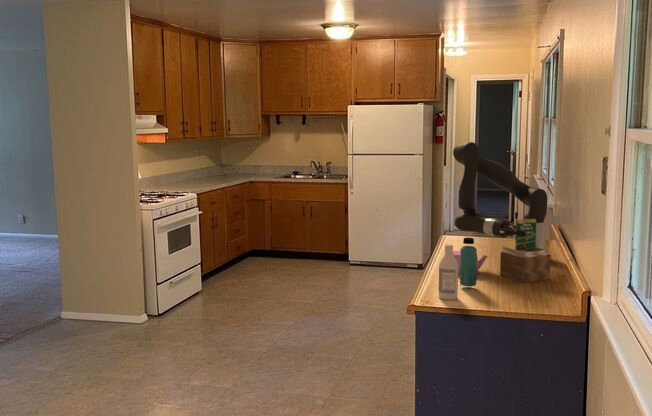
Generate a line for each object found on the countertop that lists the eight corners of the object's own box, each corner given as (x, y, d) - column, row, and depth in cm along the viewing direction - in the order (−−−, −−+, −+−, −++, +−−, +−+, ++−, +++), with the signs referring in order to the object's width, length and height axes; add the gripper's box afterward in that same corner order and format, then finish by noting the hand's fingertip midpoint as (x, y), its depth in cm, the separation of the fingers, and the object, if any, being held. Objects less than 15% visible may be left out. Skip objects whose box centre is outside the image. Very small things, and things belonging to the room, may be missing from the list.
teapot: (486, 270, 278) (486, 247, 277) (487, 276, 268) (488, 252, 267) (444, 269, 281) (444, 246, 280) (444, 274, 271) (444, 251, 270)
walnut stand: (525, 271, 275) (526, 244, 274) (549, 278, 263) (550, 250, 261) (499, 275, 269) (500, 247, 268) (522, 282, 257) (524, 253, 255)
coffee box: (515, 250, 264) (516, 219, 262) (514, 249, 266) (515, 218, 264) (535, 251, 262) (537, 219, 260) (534, 249, 265) (535, 218, 263)
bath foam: (444, 294, 241) (445, 242, 238) (460, 297, 236) (462, 244, 233) (434, 298, 235) (435, 245, 233) (451, 301, 231) (452, 247, 228)
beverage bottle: (476, 290, 245) (478, 239, 243) (459, 289, 247) (460, 239, 244) (476, 286, 252) (477, 236, 249) (459, 285, 253) (460, 236, 250)
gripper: (486, 220, 269) (521, 226, 257) (506, 217, 278) (540, 222, 266) (486, 238, 270) (520, 244, 258) (506, 234, 279) (539, 240, 267)
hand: (530, 233), depth 262 cm, fingers closed on coffee box, 7 cm apart
